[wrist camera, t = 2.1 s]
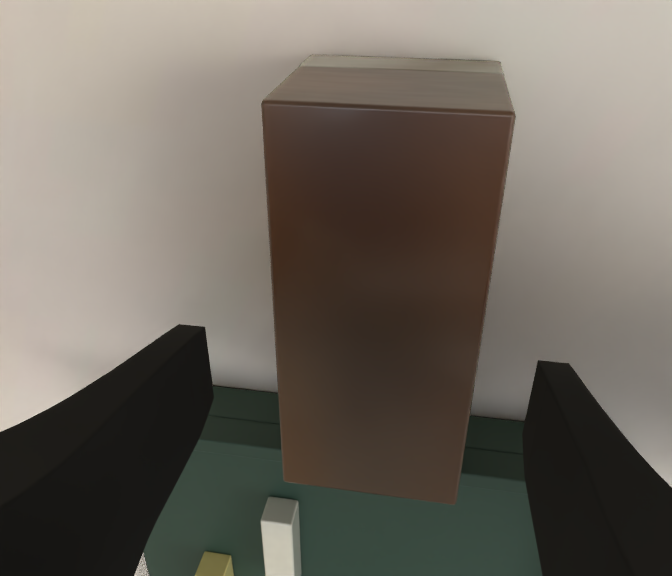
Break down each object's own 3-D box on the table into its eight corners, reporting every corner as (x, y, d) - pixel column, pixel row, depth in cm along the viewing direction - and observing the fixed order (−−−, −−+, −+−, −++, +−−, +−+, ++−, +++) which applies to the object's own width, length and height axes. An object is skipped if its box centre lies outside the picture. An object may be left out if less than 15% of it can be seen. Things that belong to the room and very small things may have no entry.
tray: (615, 431, 21) (635, 496, 19) (536, 678, 29) (543, 745, 27) (125, 374, 24) (88, 425, 21) (178, 616, 32) (156, 672, 30)
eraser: (501, 60, 16) (516, 112, 12) (456, 391, 21) (456, 506, 17) (310, 54, 17) (259, 100, 12) (316, 375, 22) (282, 482, 18)
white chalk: (298, 499, 23) (291, 525, 22) (301, 572, 26) (295, 599, 25) (268, 495, 23) (259, 520, 22) (273, 568, 26) (266, 595, 25)
